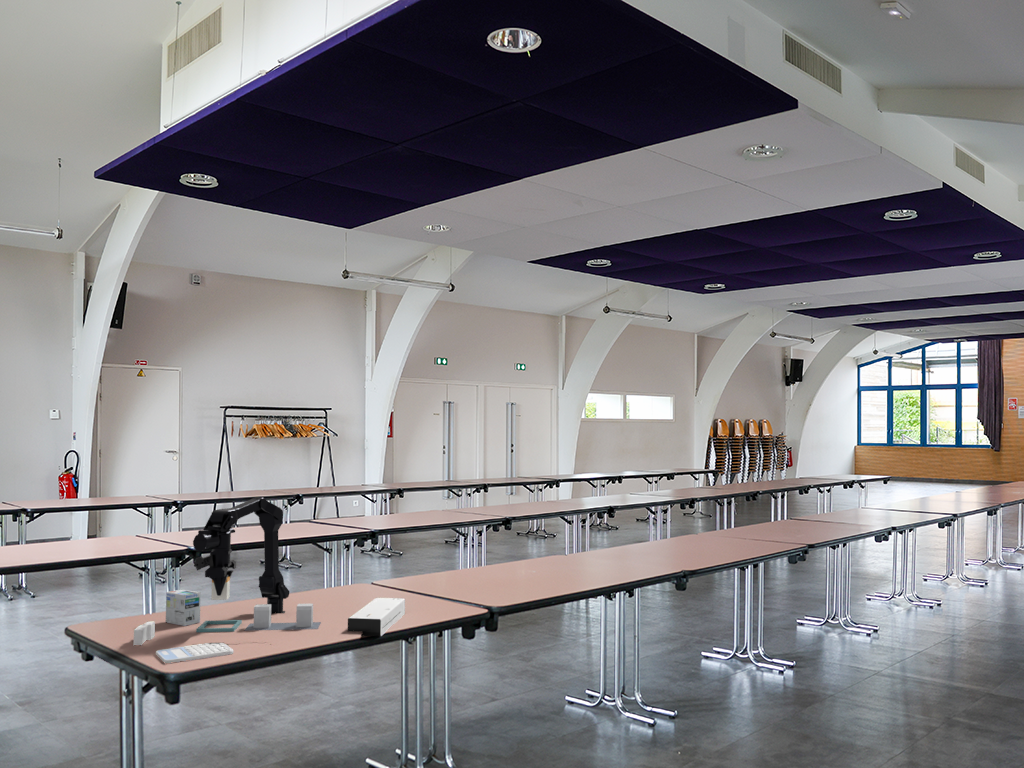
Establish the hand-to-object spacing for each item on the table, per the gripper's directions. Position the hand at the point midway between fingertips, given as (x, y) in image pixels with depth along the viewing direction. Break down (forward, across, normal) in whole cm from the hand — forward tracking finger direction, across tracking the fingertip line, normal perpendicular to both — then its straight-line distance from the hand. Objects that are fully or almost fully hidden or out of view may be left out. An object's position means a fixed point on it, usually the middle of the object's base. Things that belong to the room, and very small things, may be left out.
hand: (220, 594), depth 279 cm
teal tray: (+12, 0, 0) cm, 13 cm away
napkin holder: (+13, +10, -21) cm, 26 cm away
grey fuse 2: (+11, 0, +28) cm, 30 cm away
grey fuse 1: (+11, 0, +14) cm, 18 cm away
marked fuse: (+2, 0, 0) cm, 2 cm away
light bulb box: (+13, -15, -16) cm, 25 cm away
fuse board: (+13, 0, +21) cm, 24 cm away
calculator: (+13, +27, -1) cm, 30 cm away
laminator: (+13, -6, +52) cm, 54 cm away
